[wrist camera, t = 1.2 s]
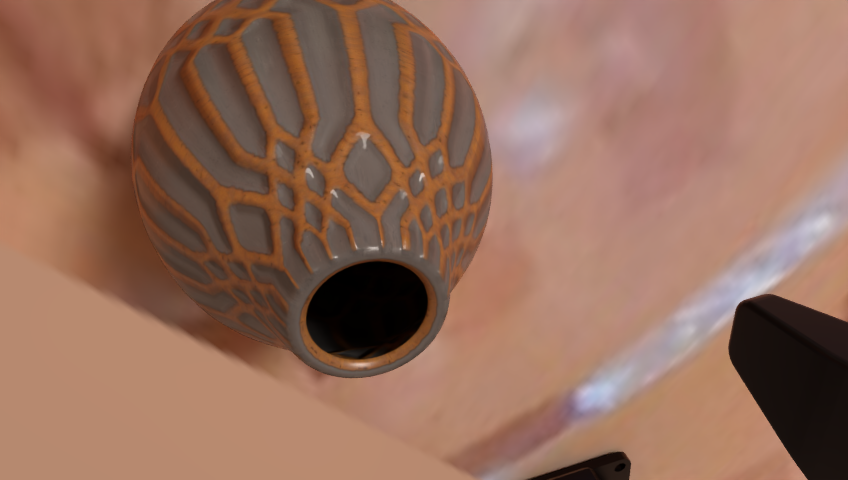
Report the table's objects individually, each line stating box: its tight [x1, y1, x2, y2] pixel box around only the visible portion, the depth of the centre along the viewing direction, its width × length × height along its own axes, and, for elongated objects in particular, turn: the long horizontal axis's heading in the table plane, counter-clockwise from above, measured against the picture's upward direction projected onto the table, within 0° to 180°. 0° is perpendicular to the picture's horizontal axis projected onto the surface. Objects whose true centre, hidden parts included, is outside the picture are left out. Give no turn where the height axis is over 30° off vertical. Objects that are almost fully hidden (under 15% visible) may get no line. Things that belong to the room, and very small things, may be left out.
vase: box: [131, 0, 492, 378], centre depth 13 cm, size 7×7×9 cm
